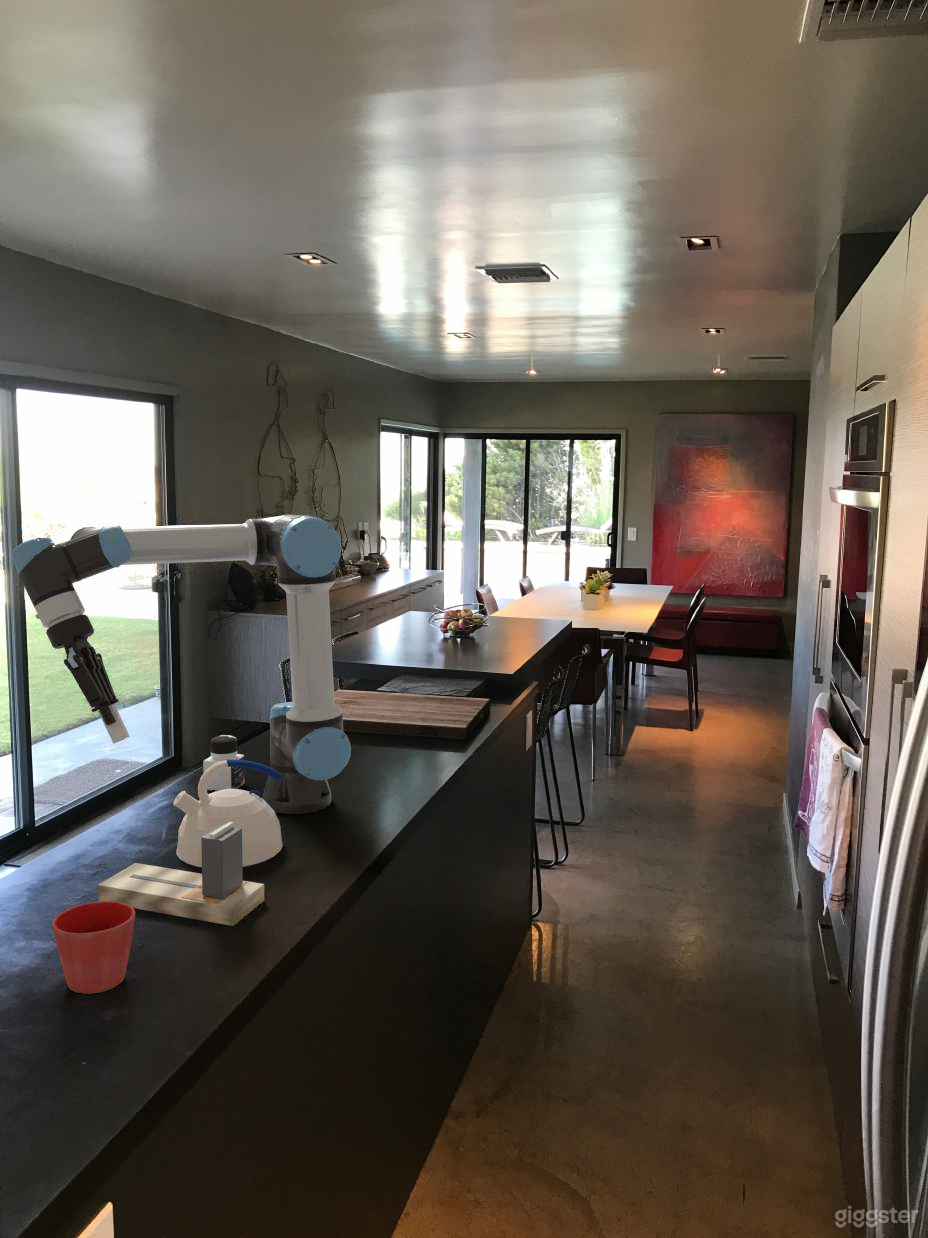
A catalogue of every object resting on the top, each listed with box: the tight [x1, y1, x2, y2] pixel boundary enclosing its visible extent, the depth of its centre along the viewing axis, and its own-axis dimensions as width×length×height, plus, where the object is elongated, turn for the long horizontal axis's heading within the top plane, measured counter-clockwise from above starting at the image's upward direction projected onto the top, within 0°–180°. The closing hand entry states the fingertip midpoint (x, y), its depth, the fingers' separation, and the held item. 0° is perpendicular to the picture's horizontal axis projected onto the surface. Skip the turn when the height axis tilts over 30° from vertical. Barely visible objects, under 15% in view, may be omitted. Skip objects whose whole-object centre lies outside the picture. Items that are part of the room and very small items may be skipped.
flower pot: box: [51, 901, 136, 994], centre depth 134 cm, size 11×11×10 cm
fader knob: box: [201, 822, 244, 899], centre depth 157 cm, size 4×6×11 cm, turn 162°
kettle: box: [173, 759, 283, 868], centre depth 183 cm, size 20×21×18 cm
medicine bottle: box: [202, 734, 246, 792], centre depth 220 cm, size 7×7×12 cm
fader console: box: [97, 862, 265, 927], centre depth 160 cm, size 26×10×3 cm, turn 73°
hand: (121, 740), depth 169 cm, fingers closed
